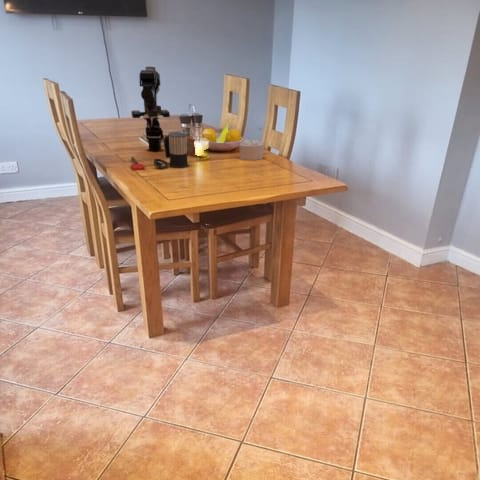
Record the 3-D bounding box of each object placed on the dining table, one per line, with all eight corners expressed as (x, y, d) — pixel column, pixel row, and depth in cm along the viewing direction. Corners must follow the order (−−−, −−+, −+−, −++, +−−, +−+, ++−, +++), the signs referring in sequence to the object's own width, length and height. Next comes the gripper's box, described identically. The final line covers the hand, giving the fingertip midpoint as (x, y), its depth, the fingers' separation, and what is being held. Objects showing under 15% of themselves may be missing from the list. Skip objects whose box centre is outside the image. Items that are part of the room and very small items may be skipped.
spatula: (127, 159, 232) (127, 157, 231) (138, 159, 234) (138, 156, 233) (133, 170, 216) (133, 167, 215) (144, 169, 217) (144, 166, 216)
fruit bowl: (227, 156, 244) (227, 134, 238) (187, 149, 256) (186, 127, 250) (253, 147, 264) (254, 126, 258) (215, 141, 276) (215, 121, 270)
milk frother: (191, 164, 227) (190, 133, 219) (175, 172, 215) (173, 139, 207) (167, 161, 232) (165, 130, 224) (150, 168, 219) (147, 135, 211)
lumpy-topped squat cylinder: (265, 158, 243) (266, 141, 238) (246, 161, 236) (246, 143, 231) (253, 154, 250) (254, 137, 245) (234, 157, 243) (235, 140, 238)
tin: (183, 153, 247) (182, 137, 243) (187, 152, 249) (187, 136, 245) (202, 158, 239) (201, 141, 234) (206, 157, 241) (206, 140, 236)
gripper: (132, 101, 217) (136, 135, 225) (171, 100, 222) (172, 134, 231) (129, 98, 226) (132, 131, 234) (166, 97, 231) (168, 130, 240)
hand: (151, 131), depth 234 cm, fingers closed
